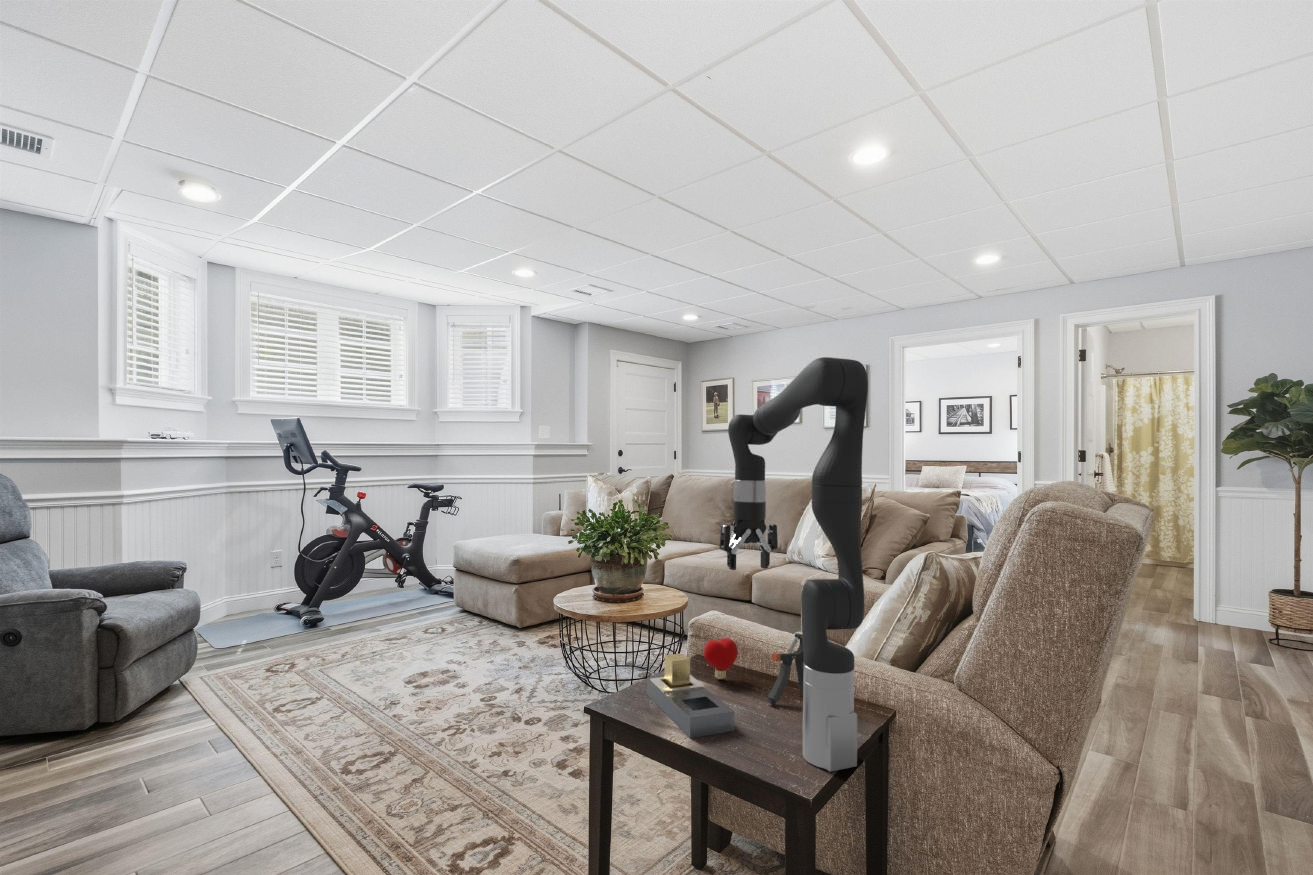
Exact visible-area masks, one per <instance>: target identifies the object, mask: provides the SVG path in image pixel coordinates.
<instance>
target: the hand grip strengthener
mask: <svg viewBox="0 0 1313 875" xmlns="http://www.w3.org/2000/svg"><path fill="white" fill-rule="evenodd" d="M798 642H799V645H798V648H797V649H796V650H795V651H794V652H793V650H794V649H795V647H796V645H797V644H798ZM787 650H788V651H787V653H777V652H775V653H772V655H771V659H772V661H773V662H780V661H782V662H781V663H780V668H779V672H778V676H777V678H776V680H775V683H774V685H773V687H772V689H771V691H770V692H769V694H768V695H767V699H766V701H768V703H770V704H771V705H774V706H775V705H776V704H778V702H779V701H780V699H781V698H782V696H783V694H784V692H785V689H786V688H787V686H788V682H789V680H790V676H791V671H792V665H793V660H794V665H795V670H796V674H797V683H798V691H799V694H800V695H801V696H800V695H799V696H800V697H802V696H803V673H804V653H803V644H802V634H801V633H797V632H796V633H794V638H793V639H792V641H791V643H790V645H789V647H788V648H787Z"/></svg>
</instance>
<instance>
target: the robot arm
mask: <svg viewBox="0 0 1313 875" xmlns="http://www.w3.org/2000/svg"><path fill="white" fill-rule="evenodd" d="M867 373H868V372H867V370H866V367H865V366H864V365H863V363H862V362H860V361H859V360H856V359H849V358H838V357H827V356H825V357H819V358H816V359H813V360H812V361H811V362H810V363H808V364H807V365H806V366H805V367H804V368H803V369H802V370H801V371H800V372H799V373H798V374H797V376H795V378H794V379H793V380H791V381H790V382H789V383H788V384H787V386H785V388H784V389H782V391H781V392H780V393H779V394H777V395H776V396H775V397H773V398H771V399H769V400H768V401H766V402H765V403H763V404H761V405H760V406H759V407H757V409H756V410H755V411H754V413H753V414H736V415H734V416H733V417H732V418H731V419H730V421H729V423H728V429H727V430H728V431H727V432H728V439H729V441H730V442H729V443H730V445H731V450H732V453H733V458H734V465H735V467H734V468H735V469H734V486H733V509H732V510H733V511H732V512H733V513H732V514H733V515H732V517H733V524H732V525H728V524H723V523H722V524H721V525H720V536H719V550H720V551H723V552H725V553H727V554H726V562H727V563H726V566H727V567H728V568H729V570H731V571H736V570H737V553H736V552H738V550H739V548H741V547H742V545H743V544H750V543H753V544H757V545H758V546H759V548H760V550H761V551H760V568H761V569H763V570H764V569H765V570H766V569H768V568H769V566H770V563H771V561H770V559H771V557H770V556H771V555H770V554H771V552H772V551H774V550H777V549H778V547H779V545H778V526H777V524H775V523H767V524H766V522H765V520H766V517H767V515H766V514H767V508H766V506H767V502H766V501H767V486H766V459H765V457H763V456H762V455H758V454H755V453H753V452H752V451H751V449H750V447H749V445H750V446H751V445H753V446H755V445H756V446H761V445H766V444H769V443H771V442H772V440H774V438H775V437H776V435H777V434H778V433H779V432H781V431H783V430H785V429H787V428H789V427H790V426H792V425H793V424H794V423H796V421H797V420H798V419H799V416H800V413H801V410H802V409H803V408H806V407H807V408H808V407H811V406H814V405H819V406H824V407H834V408H835V418H834V429H833V433H832V436H831V438H830V441H829V442H828V445H827V446H826V447H825V449H824V451H823V453H822V454H821V456H820V457H819V459H818V462H817V464H816V465H815V467H814V470H813V472H812V476H811V509H812V513H813V516H814V518H815V520H816V521H817V523H818V526H819V527H820V529H821V530H822V532H823V533H824V535H825V537H826V538H827V540H828V541H829V543H830V545H831V547H832V549H833V551H834V552H833V553H835V557H836V561H837V569H838V570H837V571H838V572H837V573H838V577H837V578H833V579H832V578H821V579H819V578H818V579H817V578H816V579H813V578H812V579H809V580H807V581H805V582H804V584H803V587H802V590H801V594H800V595H801V597H800V598H801V599H800V609H801V610H800V611H801V630H802V631H801V633H802V644H803V653H804V673H803V697H802V757H803V759H804V760H805V761H806V762H808V763H809V764H811V765H813V766H815V767H818V768H821V769H824V770H827V771H828V772H830V773H831V772H836V771H840V770H844V769H845V770H846V769H850V768H855V767H857V766H858V714H857V713H856V712H854V711H855V709H854V708H855V656H854V653H853V650H850V649H849V648H848V647H845V646H843V645H840V644H837V643H834V642H832V641H830V640H828V634H827V633H828V632H827V631H828V630H829V631H831V630H832V631H833V630H855V629H858V628H859V627H860V626H861V625H862V623H863V620H864V616H865V607H866V606H865V603H866V602H865V599H866V598H865V586H864V585H865V584H864V575H863V572H864V571H863V562H862V560H863V559H862V511H863V510H862V508H863V471H862V470H863V448H864V447H863V444H864V443H863V442H864V441H863V439H864V432H865V431H864V429H865V420H866V412H867V410H866V409H867V403H868V402H867V400H868V392H869V381H868V379H869V378H868V374H867ZM732 532H733V533H734V535H733V537H731V535H732ZM765 532H766V533H767V534H766V536H767V539H766V537H765V536H764V534H765Z"/></svg>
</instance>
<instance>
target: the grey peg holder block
mask: <svg viewBox="0 0 1313 875" xmlns="http://www.w3.org/2000/svg"><path fill="white" fill-rule="evenodd" d="M646 681H647V682H646V695H647V696H648V697H649V698H650V699H651V700H652V701H653V702H654V703H655V704H656V706H658V707H659V709H660V710H661V711H663V713H664V714H666V716H667V717H668V718H669V719H671V721H672V722H673V723H674V724H676V726H677V727H678V728H679V729H680V730H681V731H682V732H683V733H684V734H685V735H686V736H687V737H688V738H689V739H693V738H700V737H706V736H707V737H708V736H712V735H718V734H719V735H720V734H725V733H730V732H735V714H736V712H735V710H734V709H733V708H731V707H730V706H729V705H727V704H726V703H725V702H724V701H722V700H721V699H720V698H719V697H717V696H716V695H715V694H713V692H711V691H709V689H707V688H706V686H705V685H704V684H703V683H702V682H700V681H699V680H698V679H696V678H695V677H694V676H693V675H691V674H690V686H686V687H678V688H669V687H668V686H667V685H666V684H665V683H664V674H662V675H654V676H647V678H646Z"/></svg>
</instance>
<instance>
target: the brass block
mask: <svg viewBox="0 0 1313 875" xmlns="http://www.w3.org/2000/svg"><path fill="white" fill-rule="evenodd" d="M663 673H664V674H663V675H664V683H665V684H666V685H667V686H668V687H669V688H678V687H686V686H690V675H691V659H690V658H689V657H688V656H687V655H685V654H683V653H676V654H675V653H674V654H673V653H672V654H665V655H664V672H663Z"/></svg>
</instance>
